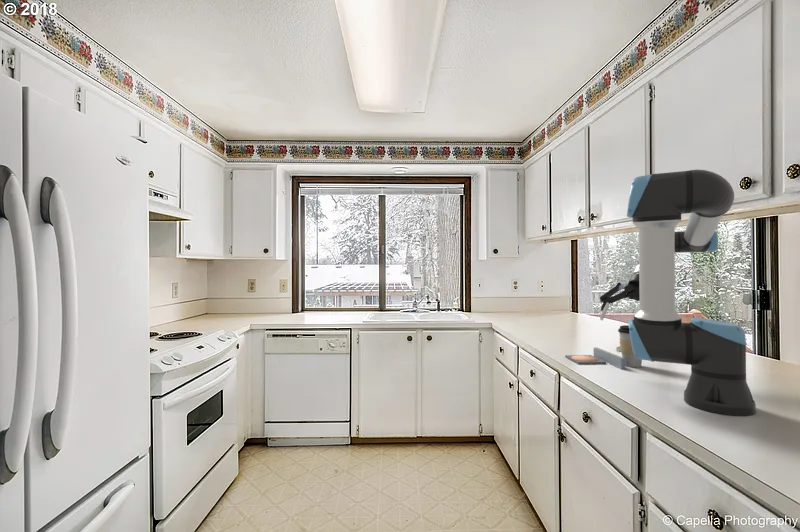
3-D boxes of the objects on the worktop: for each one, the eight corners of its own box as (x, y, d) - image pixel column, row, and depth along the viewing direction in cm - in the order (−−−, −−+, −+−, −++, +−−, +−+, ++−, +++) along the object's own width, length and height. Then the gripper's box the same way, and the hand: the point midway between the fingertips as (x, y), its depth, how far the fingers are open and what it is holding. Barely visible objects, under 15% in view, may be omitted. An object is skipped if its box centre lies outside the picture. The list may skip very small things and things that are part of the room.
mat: (606, 364, 151) (606, 361, 151) (578, 364, 151) (578, 362, 151) (590, 356, 163) (590, 354, 163) (565, 357, 163) (564, 355, 163)
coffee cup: (623, 361, 155) (623, 324, 155) (650, 365, 148) (650, 326, 148) (614, 365, 149) (613, 326, 149) (641, 370, 142) (640, 329, 142)
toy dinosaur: (616, 354, 172) (633, 356, 169) (616, 347, 172) (633, 349, 169) (614, 343, 191) (629, 345, 188) (614, 337, 191) (629, 338, 188)
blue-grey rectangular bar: (625, 369, 143) (625, 358, 143) (621, 369, 143) (621, 358, 143) (597, 356, 163) (597, 347, 163) (593, 356, 163) (593, 347, 163)
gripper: (681, 294, 139) (660, 342, 133) (607, 275, 156) (586, 318, 149) (682, 282, 134) (661, 332, 128) (606, 264, 150) (584, 308, 144)
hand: (621, 325), depth 138 cm, fingers open, 13 cm apart
